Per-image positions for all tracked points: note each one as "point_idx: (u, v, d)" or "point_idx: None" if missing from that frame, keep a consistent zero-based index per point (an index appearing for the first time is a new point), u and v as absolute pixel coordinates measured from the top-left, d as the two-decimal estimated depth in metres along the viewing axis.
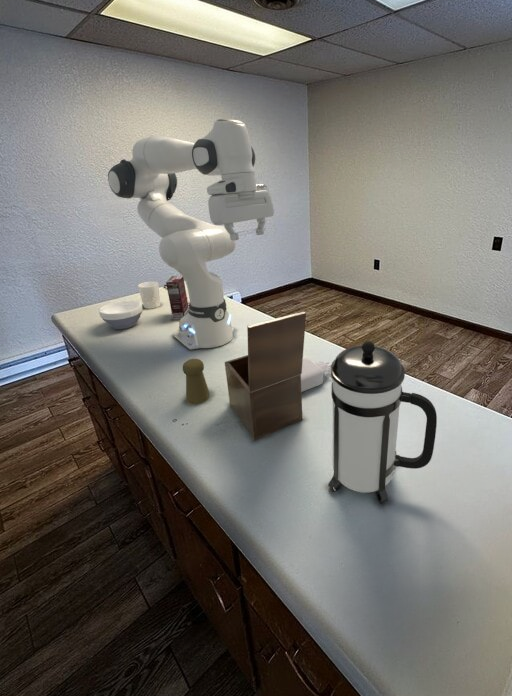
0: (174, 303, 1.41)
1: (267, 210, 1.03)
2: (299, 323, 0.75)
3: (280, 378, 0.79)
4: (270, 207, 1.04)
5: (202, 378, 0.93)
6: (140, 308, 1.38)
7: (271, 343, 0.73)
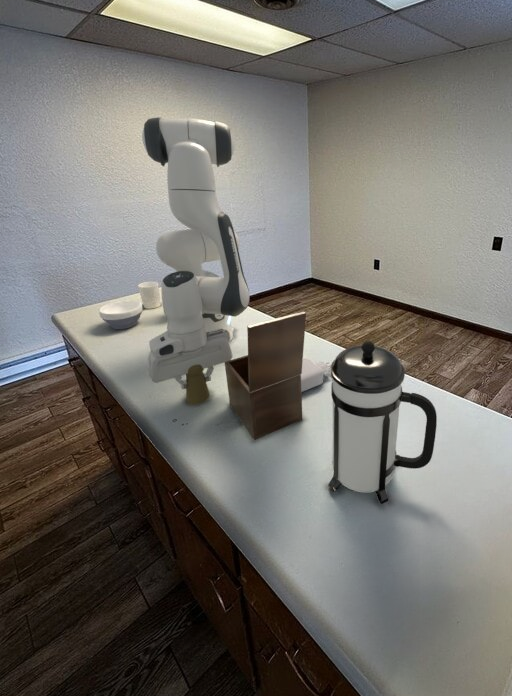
0: None
1: (222, 357, 0.95)
2: (299, 323, 0.75)
3: (280, 378, 0.79)
4: (226, 353, 0.95)
5: (202, 378, 0.93)
6: (140, 308, 1.38)
7: (271, 343, 0.73)
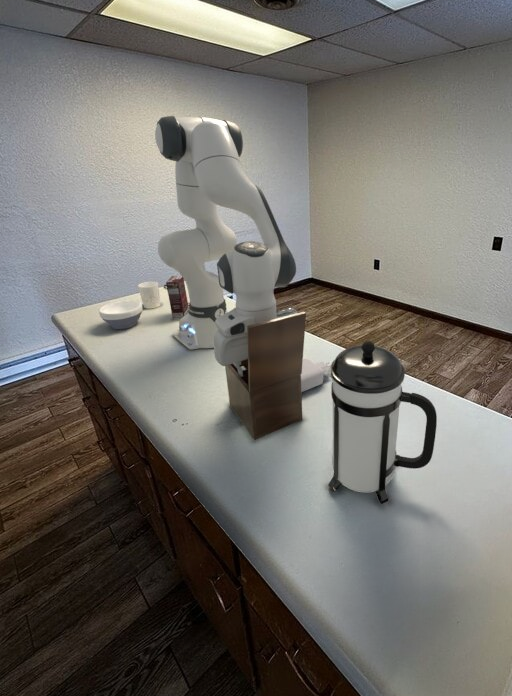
0: (174, 303, 1.41)
1: None
2: (299, 323, 0.75)
3: (280, 378, 0.79)
4: None
5: None
6: (140, 308, 1.38)
7: (271, 343, 0.73)
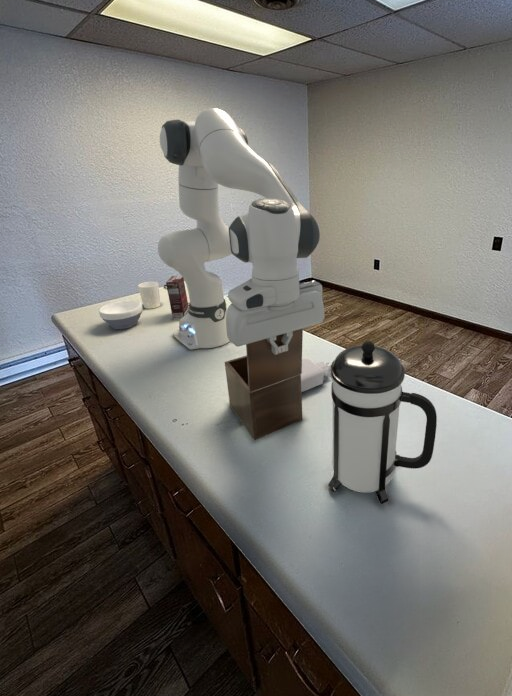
0: (174, 303, 1.41)
1: (314, 318, 0.74)
2: None
3: (280, 377, 0.79)
4: (319, 313, 0.74)
5: None
6: (140, 308, 1.38)
7: None
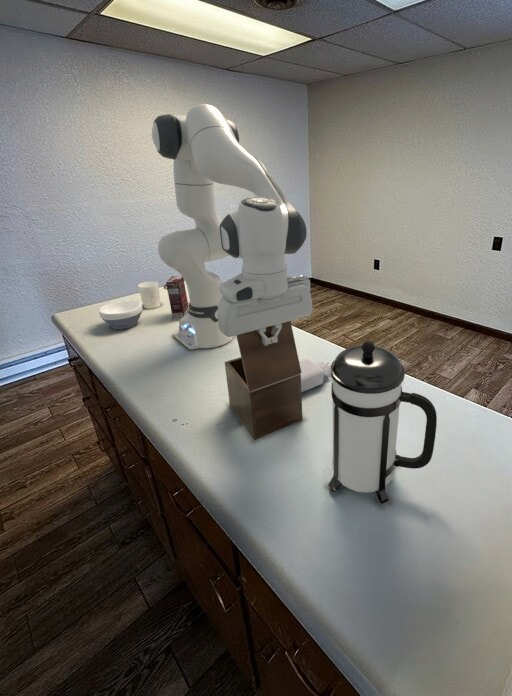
0: (174, 303, 1.41)
1: (302, 310, 0.78)
2: None
3: (279, 376, 0.79)
4: (307, 306, 0.78)
5: None
6: (140, 308, 1.38)
7: (259, 334, 0.77)
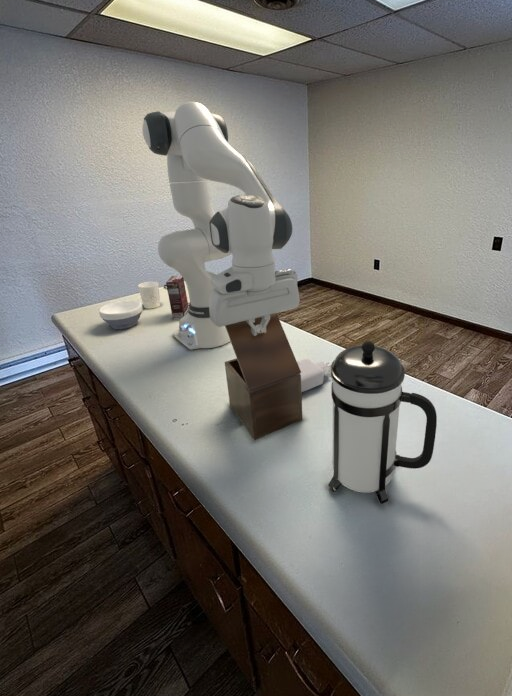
0: (174, 303, 1.41)
1: (289, 303, 0.82)
2: (273, 319, 0.86)
3: (278, 375, 0.80)
4: (294, 298, 0.82)
5: None
6: (140, 308, 1.38)
7: (252, 337, 0.82)
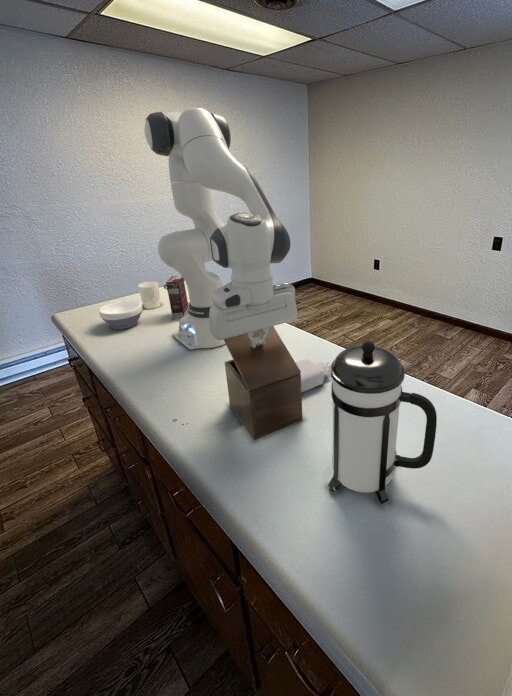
0: (174, 303, 1.41)
1: (287, 315, 0.84)
2: (269, 329, 0.89)
3: (277, 375, 0.80)
4: (292, 311, 0.85)
5: None
6: (140, 308, 1.38)
7: (249, 345, 0.84)
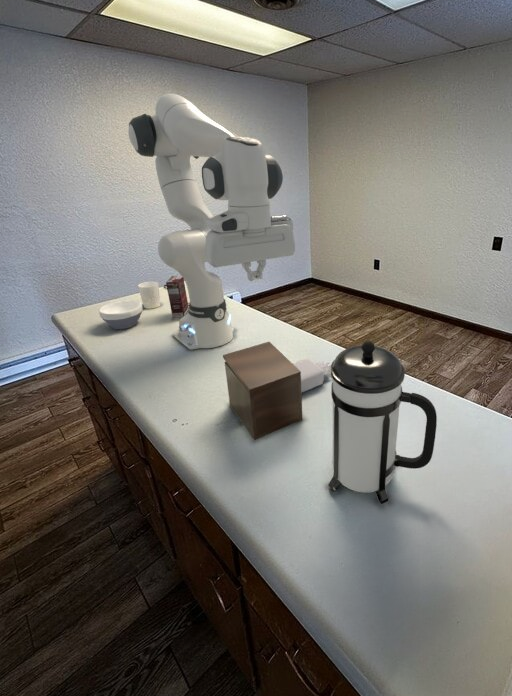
0: (174, 303, 1.41)
1: (285, 249, 0.83)
2: (268, 346, 0.92)
3: (277, 376, 0.80)
4: (290, 245, 0.84)
5: None
6: (140, 308, 1.38)
7: (249, 358, 0.87)
